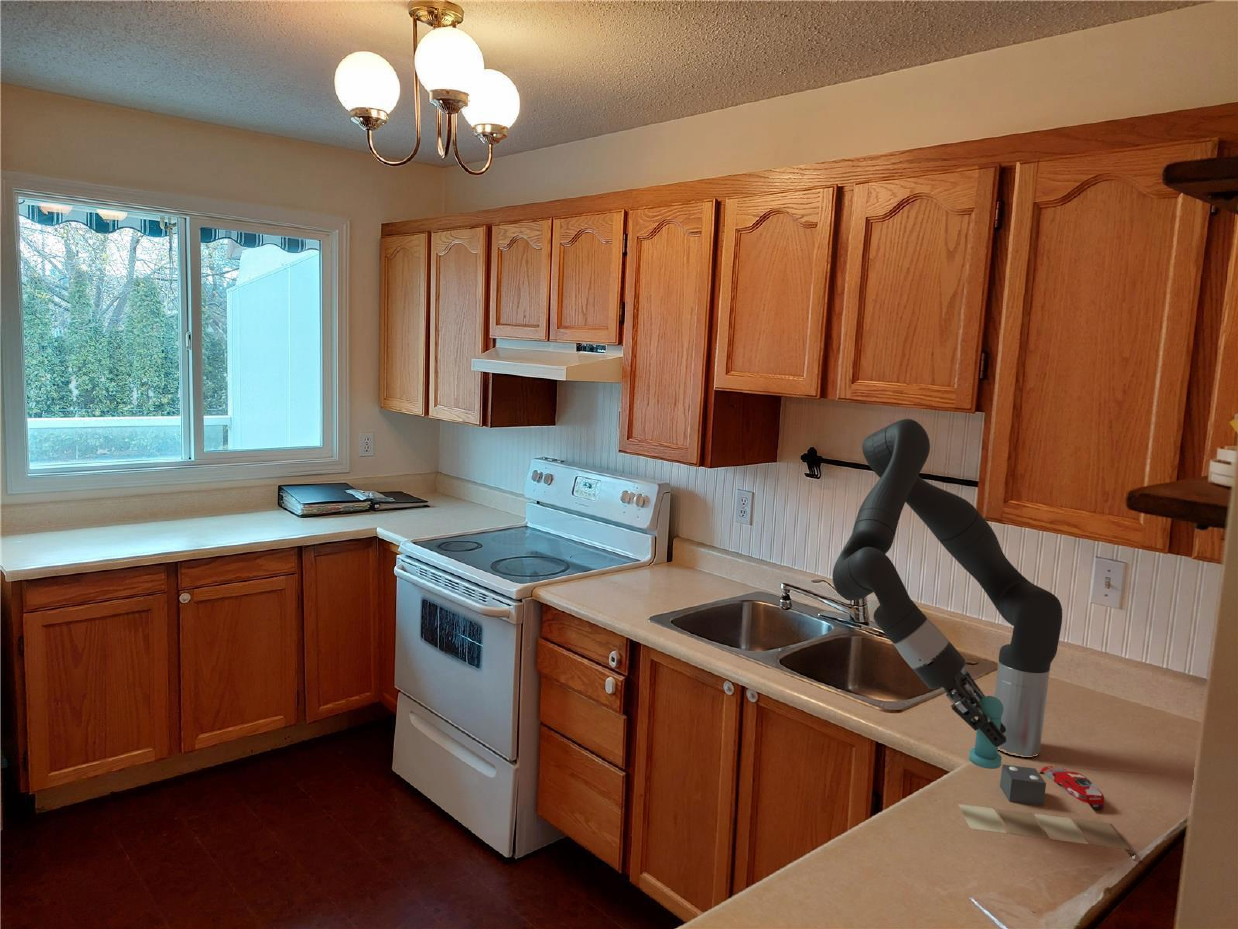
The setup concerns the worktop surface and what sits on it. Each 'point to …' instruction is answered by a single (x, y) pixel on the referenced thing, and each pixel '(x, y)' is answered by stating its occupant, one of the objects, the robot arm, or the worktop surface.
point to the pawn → (984, 749)
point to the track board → (1044, 827)
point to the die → (1022, 785)
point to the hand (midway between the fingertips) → (1001, 738)
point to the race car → (1076, 785)
